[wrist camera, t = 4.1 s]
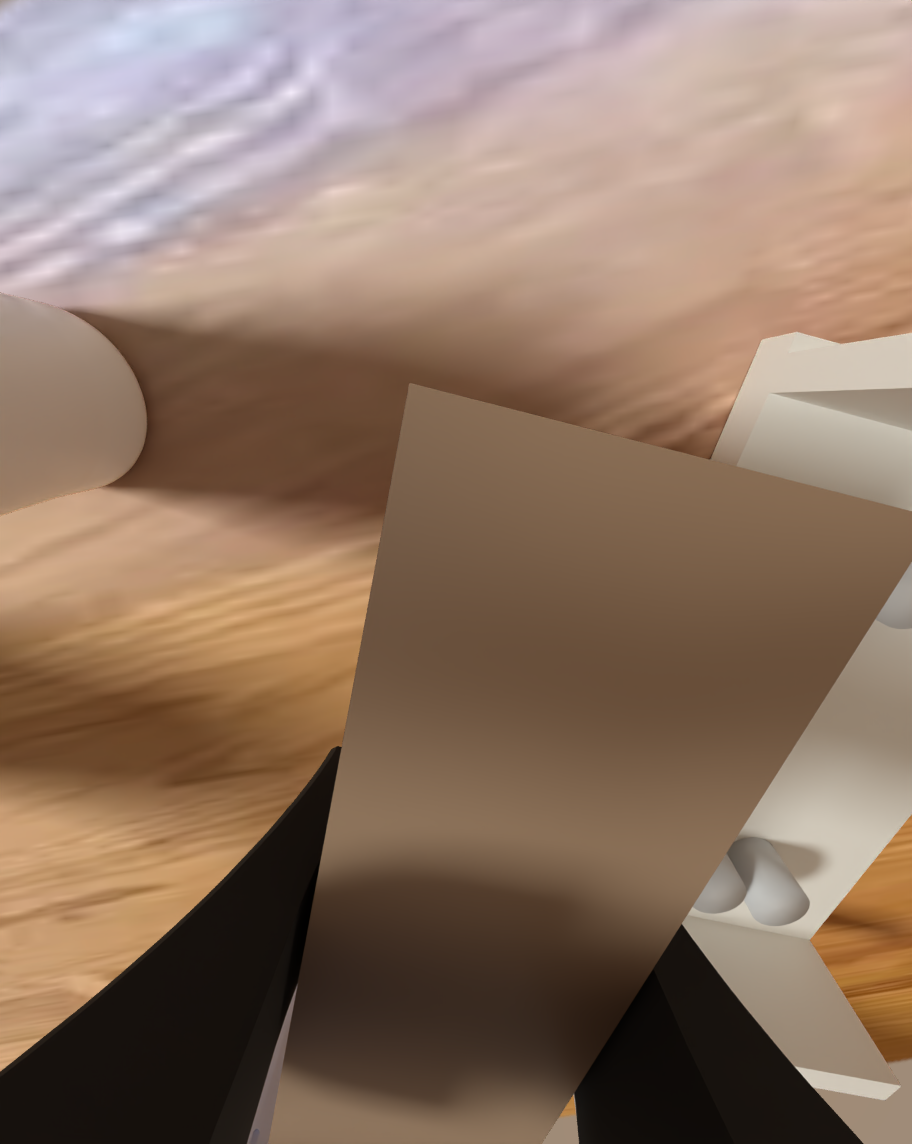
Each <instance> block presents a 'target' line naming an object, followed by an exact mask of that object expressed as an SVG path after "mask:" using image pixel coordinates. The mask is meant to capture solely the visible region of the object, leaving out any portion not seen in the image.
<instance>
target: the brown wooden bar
mask: <svg viewBox="0 0 912 1144" xmlns="http://www.w3.org/2000/svg"><path fill="white" fill-rule="evenodd" d="M911 562H912V511H909V510H905V509H901V508H897V507H893V506H889V505H885V504H882V503H878V502H874V501H870V500H866V499H862V498H858V497H854V496H850V495H846V494H842V493H839V492H835V491H831V490H827V489H823V488H819V487H815V486H811V485H807V484H803V483H799V482H796V481H792V480H788V479H784V478H780V477H776V476H772V475H768V474H764V473H760V472H756V471H753V470H749V469H745V468H741V467H737V466H733V465H729V464H725V463H721V462H717V461H713V460H710V459H706V458H702V457H698V456H694V455H690V454H686V453H682V452H678V451H674V450H670V449H667V448H663V447H659V446H655V445H651V444H647V443H643V442H639V441H635V440H631V439H627V438H624V437H620V436H616V435H612V434H608V433H604V432H600V431H596V430H592V429H588V428H584V427H581V426H577V425H573V424H569V423H565V422H561V421H557V420H553V419H549V418H545V417H541V416H538V415H534V414H530V413H526V412H522V411H518V410H514V409H510V408H506V407H502V406H498V405H494V404H491V403H487V402H483V401H479V400H475V399H471V398H467V397H463V396H459V395H455V394H451V393H448V392H444V391H440V390H436V389H432V388H428V387H424V386H420V385H416V384H412V383H409V388H408V393H407V399H406V404H405V409H404V415H403V420H402V425H401V431H400V436H399V442H398V447H397V452H396V458H395V463H394V469H393V474H392V479H391V485H390V490H389V495H388V501H387V506H386V512H385V517H384V522H383V528H382V533H381V538H380V544H379V549H378V555H377V560H376V565H375V571H374V576H373V582H372V587H371V592H370V598H369V603H368V608H367V614H366V619H365V625H364V630H363V635H362V641H361V646H360V651H359V657H358V662H357V668H356V673H355V678H354V684H353V689H352V694H351V700H350V705H349V711H348V716H347V721H346V727H345V732H344V738H343V743H342V748H341V754H340V759H339V764H338V770H337V775H336V781H335V786H334V791H333V797H332V802H331V807H330V813H329V818H328V824H327V829H326V834H325V840H324V845H323V851H322V856H321V861H320V867H319V872H318V877H317V883H316V888H315V894H314V899H313V904H312V910H311V915H310V920H309V926H308V931H307V937H306V942H305V947H304V953H303V958H302V964H301V969H300V974H299V980H298V985H297V990H296V996H295V1001H294V1007H293V1012H292V1017H291V1023H290V1028H289V1033H288V1039H287V1044H286V1050H285V1055H284V1060H283V1066H282V1071H281V1077H280V1082H279V1087H278V1093H277V1098H276V1103H275V1109H274V1114H273V1120H272V1125H271V1130H270V1136H269V1141H268V1144H542V1143H543V1141H544V1139H545V1138H546V1136H547V1135H548V1133H549V1132H550V1130H551V1129H552V1127H553V1125H554V1124H555V1122H556V1121H557V1119H558V1118H559V1116H560V1114H561V1113H562V1111H563V1110H564V1108H565V1107H566V1105H567V1103H568V1102H569V1100H570V1099H571V1097H572V1096H573V1094H574V1092H575V1091H576V1089H577V1088H578V1086H579V1084H580V1083H581V1081H582V1080H583V1078H584V1077H585V1075H586V1073H587V1072H588V1070H589V1069H590V1067H591V1066H592V1064H593V1062H594V1061H595V1059H596V1058H597V1056H598V1055H599V1053H600V1051H601V1050H602V1048H603V1047H604V1045H605V1044H606V1042H607V1040H608V1039H609V1037H610V1036H611V1034H612V1033H613V1031H614V1029H615V1028H616V1026H617V1025H618V1023H619V1022H620V1020H621V1018H622V1017H623V1015H624V1014H625V1012H626V1011H627V1009H628V1007H629V1006H630V1004H631V1003H632V1001H633V1000H634V998H635V996H636V995H637V993H638V992H639V990H640V989H641V987H642V985H643V984H644V982H645V981H646V979H647V978H648V976H649V974H650V973H651V971H652V970H653V968H654V967H655V965H656V963H657V962H658V960H659V959H660V957H661V956H662V954H663V952H664V951H665V949H666V948H667V946H668V945H669V943H670V941H671V940H672V938H673V937H674V935H675V933H676V932H677V930H678V929H679V927H680V926H681V924H682V922H683V921H684V919H685V918H686V916H687V915H688V913H689V911H690V910H691V908H692V907H693V905H694V904H695V902H696V900H697V899H698V897H699V896H700V894H701V893H702V891H703V889H704V888H705V886H706V885H707V883H708V882H709V880H710V878H711V877H712V875H713V874H714V872H715V871H716V869H717V867H718V866H719V864H720V863H721V861H722V860H723V858H724V856H725V855H726V853H727V852H728V850H729V849H730V847H731V845H732V844H733V842H734V841H735V839H736V838H737V836H738V834H739V833H740V831H741V830H742V828H743V827H744V825H745V823H746V822H747V820H748V819H749V817H750V816H751V814H752V812H753V811H754V809H755V808H756V806H757V805H758V803H759V801H760V800H761V798H762V797H763V795H764V794H765V792H766V790H767V789H768V787H769V786H770V784H771V782H772V781H773V779H774V778H775V776H776V775H777V773H778V771H779V770H780V768H781V767H782V765H783V764H784V762H785V760H786V759H787V757H788V756H789V754H790V753H791V751H792V749H793V748H794V746H795V745H796V743H797V742H798V740H799V738H800V737H801V735H802V734H803V732H804V731H805V729H806V727H807V726H808V724H809V723H810V721H811V720H812V718H813V716H814V715H815V713H816V712H817V710H818V709H819V707H820V705H821V704H822V702H823V701H824V699H825V698H826V696H827V694H828V693H829V691H830V690H831V688H832V687H833V685H834V683H835V682H836V680H837V679H838V677H839V676H840V674H841V672H842V671H843V669H844V668H845V666H846V665H847V663H848V661H849V660H850V658H851V657H852V655H853V654H854V652H855V650H856V649H857V647H858V646H859V644H860V643H861V641H862V639H863V638H864V636H865V635H866V633H867V631H868V630H869V628H870V627H871V625H872V624H873V622H874V620H875V619H876V617H877V616H878V614H879V613H880V611H881V609H882V608H883V606H884V605H885V603H886V602H887V600H888V598H889V597H890V595H891V594H892V592H893V591H894V589H895V587H896V586H897V584H898V583H899V581H900V580H901V578H902V576H903V575H904V573H905V572H906V570H907V569H908V567H909V565H910V564H911Z"/></svg>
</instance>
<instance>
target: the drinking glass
mask: <svg viewBox="0 0 912 1144" xmlns="http://www.w3.org/2000/svg"><path fill="white" fill-rule="evenodd" d="M146 433H147V412H146V406H145V401H144V397H143V394H142V391H141V388H140V385H139V383H138V381H137V379H136V376H135V374H134V373H133V371H132V369H131V367H130V366H129V364H128V363H127V361H126V360H125V358H124V357H123V356H122V354H121V353H120V352H119V351H118V349H117V348H116V347H115V346H114V345H113V344H112V343H111V342H110V341H109V340H108V339H107V338H106V337H105V336H104V335H103V334H102V333H101V332H99V331H98V330H97V329H96V328H94V327H93V326H92V325H90V324H89V323H87V322H86V321H84V320H83V319H81V318H79V317H77V316H76V315H74V314H72V313H70V312H67V311H65V310H63V309H61V308H58V307H55V306H52V305H49V304H46V303H42V302H38V301H34V300H30V299H26V298H22V297H18V296H14V295H9V294H5V293H1V292H0V516H2V515H5V514H9V513H12V512H15V511H18V510H21V509H24V508H27V507H30V506H33V505H36V504H39V503H42V502H45V501H49V500H52V499H55V498H59V497H63V496H67V495H72V494H76V493H81V492H85V491H89V490H93V489H97V488H100V487H103V486H105V485H108V484H110V483H112V482H114V481H116V480H117V479H119V478H120V477H122V476H123V475H124V474H126V473H127V472H128V471H129V470H130V469H131V467H132V466H133V465H134V464H135V462H136V461H137V459H138V458H139V456H140V454H141V451H142V449H143V446H144V443H145V439H146Z"/></svg>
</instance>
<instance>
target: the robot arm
mask: <svg viewBox="0 0 912 1144" xmlns="http://www.w3.org/2000/svg"><path fill="white" fill-rule="evenodd" d="M341 748H342V747H339V746H337V747H335V748H333V749H331V751H330V752H329V754H328V756H327V757H326V759H325V760H324V762H323V763H322V765H321V766H320V768H319V769H318V771H317V772H316V773H315V775H314V776H313V777H312V779H311V780H310V781H309V783H308V784H307V785H306V787H305V788H304V789H303V790H302V792H301V793H300V794H299V795H298V797H297V798H296V799H295V800H294V802H293V803H292V804H291V805H290V806H289V807H288V809H287V810H286V811H285V812H284V813H283V815H282V816H281V817H280V818H279V819H278V820H277V822H276V823H275V824H274V825H273V826H272V827H271V829H270V830H269V831H268V832H267V833H266V834H265V835H264V836H263V838H262V839H261V840H260V841H259V842H258V843H257V844H256V845H255V846H254V847H253V848H252V849H251V850H250V851H249V852H248V854H247V855H246V856H245V857H244V858H243V859H242V860H241V861H240V862H239V863H238V864H237V865H236V866H235V867H234V868H233V869H232V870H231V872H230V873H229V874H228V875H227V876H226V877H225V878H224V879H223V880H222V881H221V882H220V883H219V884H218V885H217V886H216V887H215V888H214V889H213V890H212V891H211V892H210V893H209V894H208V895H207V896H206V897H205V898H204V899H202V900H201V901H200V902H199V903H198V904H197V905H196V906H195V907H194V908H193V909H192V910H191V911H190V912H189V913H188V914H187V915H186V916H185V917H184V918H182V919H181V920H180V921H179V922H178V923H177V924H176V925H175V926H174V927H173V928H172V929H171V930H170V931H169V932H167V933H166V934H165V935H164V936H163V937H162V938H161V939H160V940H158V941H157V942H156V943H155V944H154V945H153V946H152V947H151V948H149V949H148V950H147V951H146V952H145V953H144V954H143V955H141V956H140V957H139V958H138V959H137V960H136V961H135V962H134V963H132V964H131V965H130V966H129V967H128V968H127V969H126V970H124V971H123V972H122V973H121V974H120V975H119V976H118V977H116V978H115V979H114V980H113V981H112V982H111V983H109V984H108V985H107V986H106V987H105V988H104V989H102V990H101V991H100V992H99V993H98V994H96V995H95V996H94V997H93V998H92V999H90V1000H89V1001H88V1002H87V1003H86V1004H84V1005H83V1006H82V1007H81V1008H80V1009H78V1010H77V1011H76V1012H75V1013H73V1014H72V1015H71V1016H70V1017H68V1018H67V1019H66V1020H65V1021H63V1022H62V1023H61V1024H60V1025H58V1026H57V1027H56V1028H54V1029H53V1030H52V1031H51V1032H49V1033H48V1034H47V1035H46V1036H44V1037H43V1038H42V1039H41V1040H39V1041H38V1042H37V1043H36V1044H34V1045H33V1046H32V1047H31V1048H29V1049H28V1050H27V1051H26V1052H24V1053H23V1054H22V1055H21V1056H19V1057H18V1058H17V1059H16V1060H14V1061H13V1062H12V1063H11V1064H9V1065H8V1066H7V1067H6V1068H4V1069H3V1070H2V1071H1V1072H0V1144H268V1141H269V1136H270V1130H271V1125H272V1120H273V1114H274V1109H275V1103H276V1098H277V1093H278V1087H279V1082H280V1077H281V1071H282V1066H283V1060H284V1055H285V1050H286V1044H287V1039H288V1033H289V1028H290V1023H291V1017H292V1012H293V1007H294V1001H295V996H296V990H297V985H298V980H299V974H300V969H301V964H302V958H303V953H304V947H305V942H306V937H307V931H308V926H309V920H310V915H311V910H312V904H313V899H314V894H315V888H316V883H317V877H318V872H319V867H320V861H321V856H322V851H323V845H324V840H325V834H326V829H327V824H328V818H329V813H330V807H331V802H332V797H333V791H334V786H335V781H336V775H337V770H338V764H339V759H340V754H341ZM574 1096H575V1104H576V1114H577V1125H578V1136H579V1144H863V1143H862V1141H861V1140H860V1139H859V1138H858V1137H857V1136H856V1135H855V1134H854V1133H853V1131H852V1130H851V1129H850V1128H849V1127H848V1126H847V1125H846V1124H845V1123H844V1122H843V1120H842V1119H841V1118H840V1117H839V1116H838V1115H837V1114H836V1113H835V1112H834V1110H833V1109H832V1108H831V1107H830V1106H829V1105H828V1104H827V1103H826V1102H825V1101H824V1099H823V1098H822V1097H821V1096H820V1095H819V1094H818V1093H817V1092H816V1091H815V1089H814V1088H813V1087H812V1086H811V1085H810V1084H809V1083H808V1081H807V1080H806V1079H805V1078H804V1077H803V1076H802V1074H801V1073H800V1072H799V1071H798V1070H797V1069H796V1068H795V1066H794V1065H793V1064H792V1063H791V1062H790V1061H789V1059H788V1058H787V1057H786V1056H785V1055H784V1054H783V1052H782V1051H781V1050H780V1049H779V1048H778V1046H777V1045H776V1044H775V1043H774V1041H773V1040H772V1039H771V1038H770V1037H769V1035H768V1034H767V1033H766V1032H765V1031H764V1029H763V1028H762V1027H761V1026H760V1025H759V1023H758V1022H757V1021H756V1020H755V1019H754V1017H753V1016H752V1015H751V1014H750V1013H749V1011H748V1010H747V1009H746V1008H745V1006H744V1005H743V1004H742V1003H741V1001H740V1000H739V999H738V998H737V996H736V995H735V994H734V993H733V991H732V990H731V989H730V988H729V986H728V985H727V984H726V982H725V981H724V980H723V978H722V977H721V976H720V975H719V973H718V972H717V971H716V969H715V968H714V967H713V965H712V964H711V963H710V961H709V960H708V959H707V957H706V956H705V955H704V953H703V952H702V951H701V949H700V948H699V947H698V945H697V944H696V943H695V941H694V940H693V939H692V937H691V936H690V934H689V933H688V932H687V930H686V929H685V927H684V926H683V925H682V924H681V926H680V927H679V929H678V930H677V932H676V933H675V935H674V937H673V938H672V940H671V941H670V943H669V945H668V946H667V948H666V949H665V951H664V952H663V954H662V956H661V957H660V959H659V960H658V962H657V963H656V965H655V967H654V968H653V970H652V971H651V973H650V974H649V976H648V978H647V979H646V981H645V982H644V984H643V985H642V987H641V989H640V990H639V992H638V993H637V995H636V996H635V998H634V1000H633V1001H632V1003H631V1004H630V1006H629V1007H628V1009H627V1011H626V1012H625V1014H624V1015H623V1017H622V1018H621V1020H620V1022H619V1023H618V1025H617V1026H616V1028H615V1029H614V1031H613V1033H612V1034H611V1036H610V1037H609V1039H608V1040H607V1042H606V1044H605V1045H604V1047H603V1048H602V1050H601V1051H600V1053H599V1055H598V1056H597V1058H596V1059H595V1061H594V1062H593V1064H592V1066H591V1067H590V1069H589V1070H588V1072H587V1073H586V1075H585V1077H584V1078H583V1080H582V1081H581V1083H580V1084H579V1086H578V1088H577V1089H576V1091H575V1092H574Z"/></svg>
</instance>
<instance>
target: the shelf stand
mask: <svg viewBox="0 0 912 1144" xmlns="http://www.w3.org/2000/svg"><path fill="white" fill-rule="evenodd" d="M710 460H713V461H717V462H721V463H725V464H729V465H733V466H737V467H741V468H745V469H749V470H753V471H756V472H760V473H764V474H768V475H772V476H776V477H780V478H784V479H788V480H792V481H796V482H799V483H803V484H807V485H811V486H815V487H819V488H823V489H827V490H831V491H835V492H839V493H842V494H846V495H850V496H854V497H858V498H862V499H866V500H870V501H874V502H878V503H882V504H885V505H889V506H893V507H897V508H901V509H905V510H909V511H912V333H908V334H902V335H896V336H890V337H884V338H877V339H871V340H865V341H859V342H852V343H846V344H839V343H835V342H832V341H828V340H824V339H821V338H817V337H814V336H810V335H806V334H803V333H799V332H795V333H790V334H786V335H781V336H777V337H772V338H767V339H763V340H762V341H761V343H760V345H759V348H758V350H757V352H756V355H755V357H754V359H753V362H752V364H751V366H750V368H749V371H748V373H747V375H746V378H745V380H744V382H743V385H742V387H741V389H740V392H739V394H738V396H737V399H736V401H735V403H734V406H733V408H732V410H731V413H730V415H729V417H728V420H727V422H726V424H725V427H724V429H723V431H722V434H721V436H720V438H719V440H718V443H717V445H716V447H715V450H714V452H713V454H712V457H711V459H710ZM911 814H912V562H911V564H910V565H909V567H908V569H907V570H906V572H905V573H904V575H903V576H902V578H901V580H900V581H899V583H898V584H897V586H896V587H895V589H894V591H893V592H892V594H891V595H890V597H889V598H888V600H887V602H886V603H885V605H884V606H883V608H882V609H881V611H880V613H879V614H878V616H877V617H876V619H875V620H874V622H873V624H872V625H871V627H870V628H869V630H868V631H867V633H866V635H865V636H864V638H863V639H862V641H861V643H860V644H859V646H858V647H857V649H856V650H855V652H854V654H853V655H852V657H851V658H850V660H849V661H848V663H847V665H846V666H845V668H844V669H843V671H842V672H841V674H840V676H839V677H838V679H837V680H836V682H835V683H834V685H833V687H832V688H831V690H830V691H829V693H828V694H827V696H826V698H825V699H824V701H823V702H822V704H821V705H820V707H819V709H818V710H817V712H816V713H815V715H814V716H813V718H812V720H811V721H810V723H809V724H808V726H807V727H806V729H805V731H804V732H803V734H802V735H801V737H800V738H799V740H798V742H797V743H796V745H795V746H794V748H793V749H792V751H791V753H790V754H789V756H788V757H787V759H786V760H785V762H784V764H783V765H782V767H781V768H780V770H779V771H778V773H777V775H776V776H775V778H774V779H773V781H772V782H771V784H770V786H769V787H768V789H767V790H766V792H765V794H764V795H763V797H762V798H761V800H760V801H759V803H758V805H757V806H756V808H755V809H754V811H753V812H752V814H751V816H750V817H749V819H748V820H747V822H746V823H745V825H744V827H743V828H742V830H741V831H740V833H739V834H738V836H737V838H736V839H735V841H734V842H733V844H732V845H731V847H730V849H729V850H728V852H727V853H726V855H725V856H724V858H723V860H722V861H721V863H720V864H719V866H718V867H717V869H716V871H715V872H714V874H713V875H712V877H711V878H710V880H709V882H708V883H707V885H706V886H705V888H704V889H703V891H702V893H701V894H700V896H699V897H698V899H697V900H696V902H695V904H694V905H693V907H692V908H691V910H690V911H689V913H688V915H687V916H686V918H685V919H684V921H683V922H682V925H683V926H684V927H685V929H686V930H687V932H688V933H689V934H690V936H691V937H692V939H693V940H694V941H695V943H696V944H697V945H698V947H699V948H700V949H701V951H702V952H703V953H704V955H705V956H706V957H707V959H708V960H709V961H710V963H711V964H712V965H713V967H714V968H715V969H716V971H717V972H718V973H719V975H720V976H721V977H722V978H723V980H724V981H725V982H726V984H727V985H728V986H729V988H730V989H731V990H732V991H733V993H734V994H735V995H736V996H737V998H738V999H739V1000H740V1001H741V1003H742V1004H743V1005H744V1006H745V1008H746V1009H747V1010H748V1011H749V1013H750V1014H751V1015H752V1016H753V1017H754V1019H755V1020H756V1021H757V1022H758V1023H759V1025H760V1026H761V1027H762V1028H763V1029H764V1031H765V1032H766V1033H767V1034H768V1035H769V1037H770V1038H771V1039H772V1040H773V1041H774V1043H775V1044H776V1045H777V1046H778V1048H779V1049H780V1050H781V1051H782V1052H783V1054H784V1055H785V1056H786V1057H787V1058H788V1059H789V1061H790V1062H791V1063H792V1064H793V1065H794V1066H795V1068H796V1069H797V1070H798V1071H799V1072H800V1073H801V1074H802V1076H803V1077H804V1078H805V1079H806V1080H807V1081H808V1083H809V1084H810V1085H811V1086H812V1087H813V1088H819V1089H824V1090H830V1091H836V1092H841V1093H846V1094H852V1095H857V1096H863V1097H868V1098H874V1099H879V1100H886V1099H887V1098H888V1097H890V1096H891V1095H892V1094H893V1093H894V1092H895V1091H896V1090H898V1089H899V1088H900V1087H901V1085H900V1083H899V1082H898V1080H897V1078H896V1077H895V1075H894V1074H893V1072H892V1070H891V1069H890V1067H889V1066H888V1064H887V1062H886V1061H885V1059H884V1058H883V1056H882V1054H881V1053H880V1051H879V1050H878V1048H877V1046H876V1045H875V1043H874V1042H873V1040H872V1038H871V1037H870V1035H869V1034H868V1032H867V1031H866V1029H865V1027H864V1026H863V1024H862V1023H861V1021H860V1019H859V1018H858V1016H857V1015H856V1013H855V1011H854V1010H853V1008H852V1007H851V1005H850V1004H849V1002H848V1000H847V999H846V997H845V996H844V994H843V992H842V991H841V989H840V988H839V986H838V984H837V983H836V981H835V980H834V978H833V976H832V975H831V973H830V972H829V970H828V969H827V967H826V965H825V964H824V962H823V961H822V959H821V957H820V956H819V954H818V953H817V951H816V949H815V948H814V946H813V945H812V943H811V942H810V939H811V938H812V936H813V935H814V934H815V933H816V931H817V930H818V929H819V928H820V926H821V925H822V924H823V923H824V922H825V920H826V919H827V918H828V917H829V915H830V914H831V913H832V912H833V910H834V909H835V908H836V907H837V906H838V904H839V903H840V902H841V901H842V899H843V898H844V897H845V896H846V894H847V893H848V892H849V891H850V889H851V888H852V887H853V886H854V885H855V883H856V882H857V881H858V880H859V878H860V877H861V876H862V875H863V873H864V872H865V871H866V870H867V868H868V867H869V866H870V865H871V864H872V862H873V861H874V860H875V859H876V857H877V856H878V855H879V854H880V852H881V851H882V850H883V849H884V848H885V846H886V845H887V844H888V843H889V841H890V840H891V839H892V838H893V836H894V835H895V834H896V833H897V831H898V830H899V829H900V828H901V827H902V825H903V824H904V823H905V822H906V820H907V819H908V818H909V817H910V815H911Z"/></svg>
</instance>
